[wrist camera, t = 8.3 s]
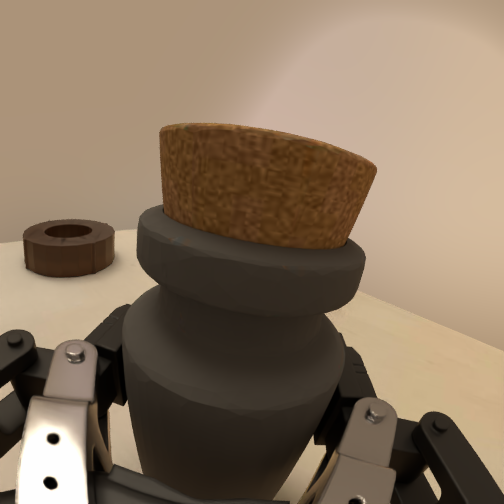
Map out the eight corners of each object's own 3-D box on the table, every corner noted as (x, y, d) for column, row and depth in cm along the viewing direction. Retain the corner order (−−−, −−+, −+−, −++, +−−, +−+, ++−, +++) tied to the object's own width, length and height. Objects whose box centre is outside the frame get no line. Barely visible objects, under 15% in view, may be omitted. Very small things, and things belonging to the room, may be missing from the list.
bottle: (175, 435, 13) (198, 142, 9) (274, 465, 12) (374, 175, 8) (129, 510, 8) (68, 114, 4) (251, 551, 7) (462, 170, 3)
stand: (10, 272, 26) (7, 242, 25) (44, 241, 39) (43, 217, 38) (106, 280, 31) (106, 248, 30) (118, 245, 44) (119, 221, 43)
